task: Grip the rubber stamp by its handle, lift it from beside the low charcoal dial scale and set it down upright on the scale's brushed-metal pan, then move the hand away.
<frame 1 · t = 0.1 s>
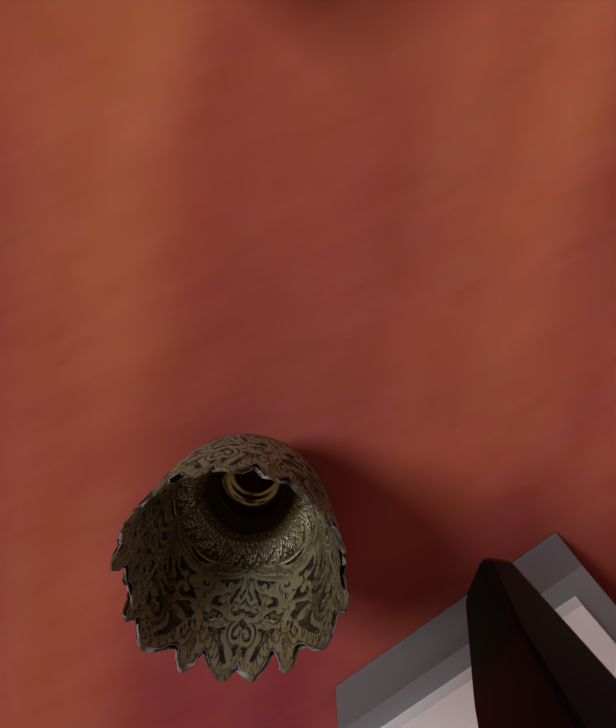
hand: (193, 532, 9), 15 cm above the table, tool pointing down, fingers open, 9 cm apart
dial scale: (539, 718, 28), on the table
cup: (254, 471, 25), on the table
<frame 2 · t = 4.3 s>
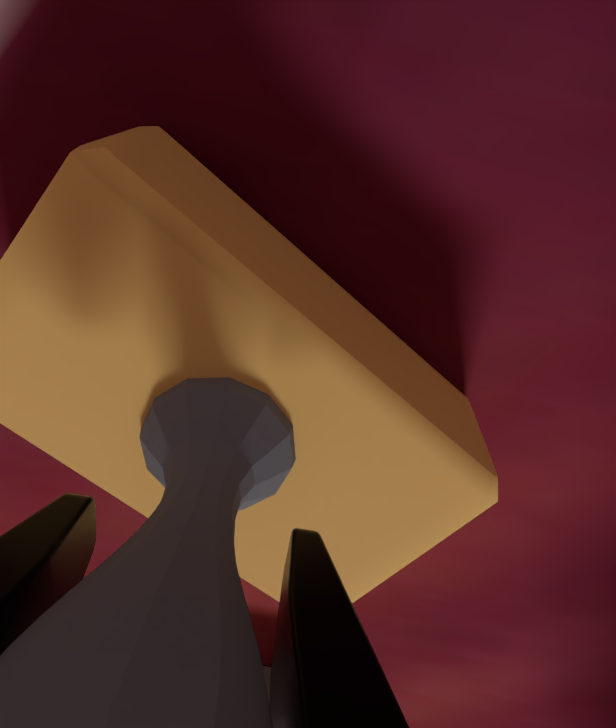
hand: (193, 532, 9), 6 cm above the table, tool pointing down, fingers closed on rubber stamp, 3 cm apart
rubber stamp: (251, 350, 14), on the table, touching gripper
when the fingers open (10 cm above the table, at t = 8.6 s): rubber stamp drops 1 cm, resting on dial scale.
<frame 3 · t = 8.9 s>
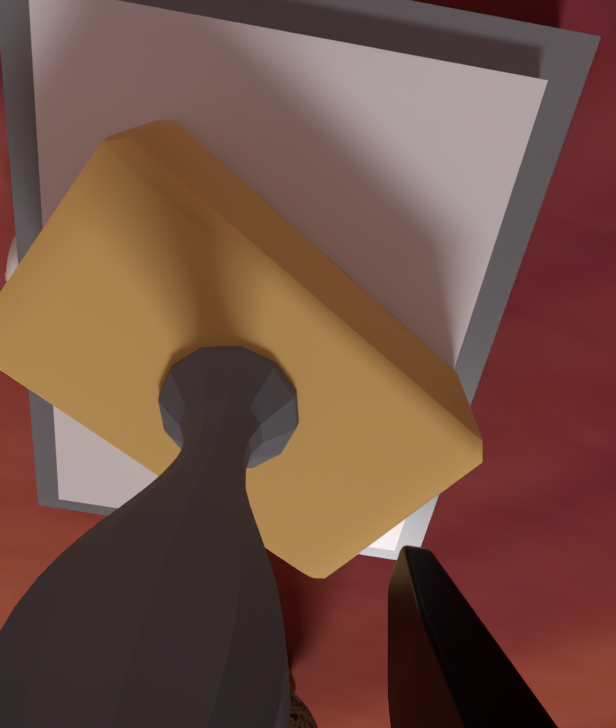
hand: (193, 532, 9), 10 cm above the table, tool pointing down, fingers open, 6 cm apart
rubber stamp: (256, 329, 15), point 3 cm above the table, touching dial scale
dial scale: (266, 289, 18), on the table
cup: (258, 664, 27), on the table
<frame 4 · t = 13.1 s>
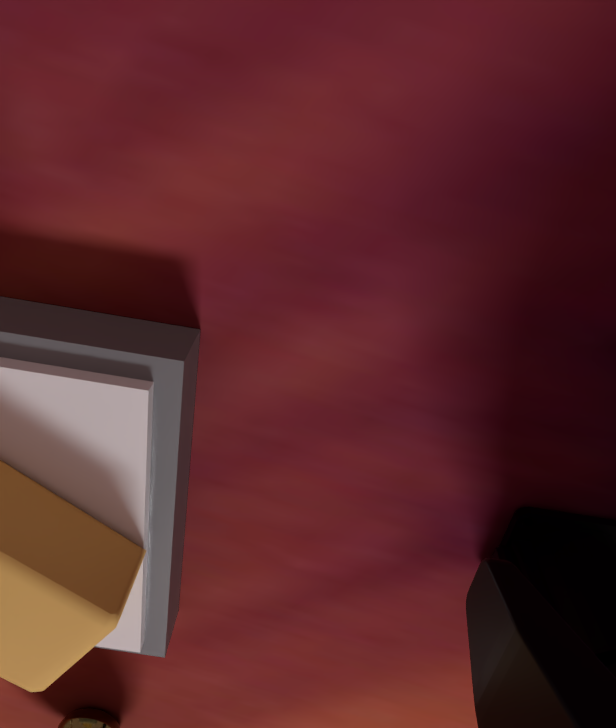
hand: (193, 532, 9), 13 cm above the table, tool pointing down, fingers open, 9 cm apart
rubber stamp: (7, 516, 22), point 3 cm above the table, touching dial scale
dial scale: (41, 468, 25), on the table
cup: (95, 717, 34), on the table
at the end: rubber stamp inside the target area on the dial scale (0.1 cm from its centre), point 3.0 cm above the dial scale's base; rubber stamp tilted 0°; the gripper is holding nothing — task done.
